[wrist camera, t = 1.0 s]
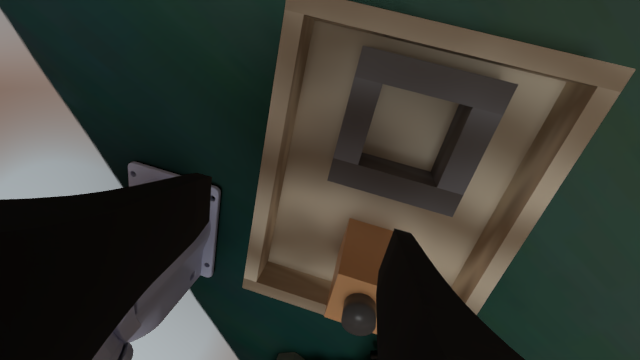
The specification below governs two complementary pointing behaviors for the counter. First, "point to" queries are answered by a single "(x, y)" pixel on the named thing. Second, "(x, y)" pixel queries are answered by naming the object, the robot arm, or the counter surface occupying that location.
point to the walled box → (413, 144)
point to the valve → (296, 359)
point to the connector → (357, 277)
